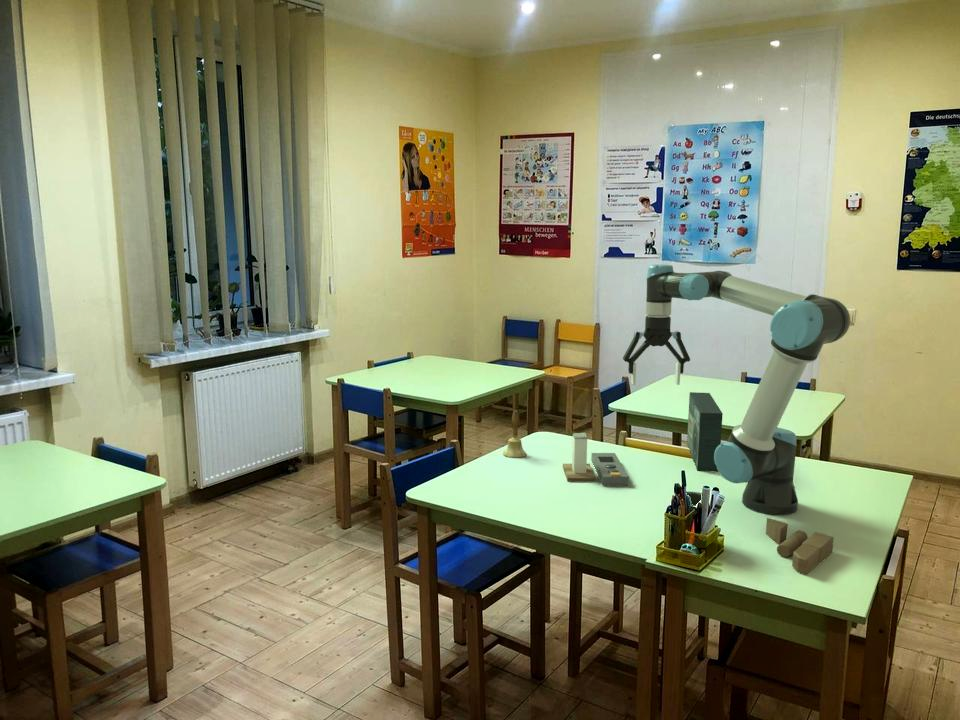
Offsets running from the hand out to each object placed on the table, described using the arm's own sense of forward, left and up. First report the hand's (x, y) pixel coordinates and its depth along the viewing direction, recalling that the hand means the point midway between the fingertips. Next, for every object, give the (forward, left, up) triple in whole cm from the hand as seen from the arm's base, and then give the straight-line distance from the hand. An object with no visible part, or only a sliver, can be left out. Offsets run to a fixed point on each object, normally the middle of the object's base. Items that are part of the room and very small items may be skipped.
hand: (655, 383), depth 231 cm
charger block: (+7, +22, -30) cm, 38 cm away
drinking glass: (-45, 0, -32) cm, 55 cm away
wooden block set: (-51, -22, -32) cm, 65 cm away
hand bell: (+28, +42, -32) cm, 60 cm away
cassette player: (+24, -23, -32) cm, 46 cm away
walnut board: (+7, +22, -32) cm, 39 cm away
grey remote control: (+8, +12, -32) cm, 35 cm away
